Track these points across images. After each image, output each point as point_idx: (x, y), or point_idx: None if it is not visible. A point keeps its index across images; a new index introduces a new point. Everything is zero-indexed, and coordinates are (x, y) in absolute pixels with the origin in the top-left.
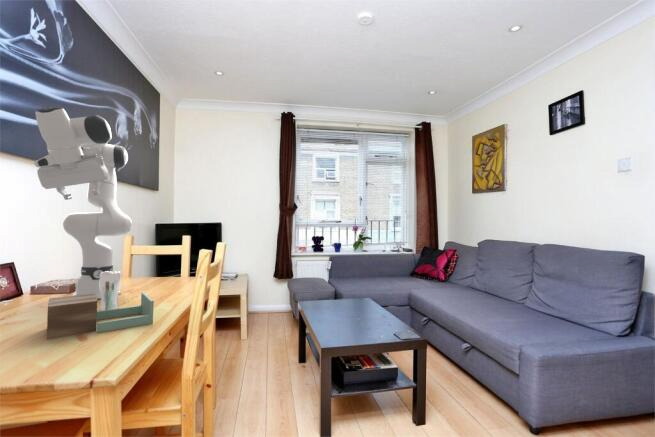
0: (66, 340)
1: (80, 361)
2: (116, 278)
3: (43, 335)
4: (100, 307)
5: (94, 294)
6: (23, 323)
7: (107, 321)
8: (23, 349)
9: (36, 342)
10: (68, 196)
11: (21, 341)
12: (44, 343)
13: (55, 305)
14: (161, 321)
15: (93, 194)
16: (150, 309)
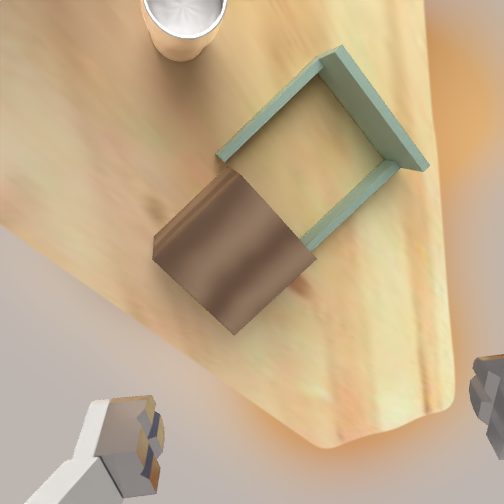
0: None
1: (370, 374)
2: (224, 14)
3: None
4: (161, 50)
5: (249, 185)
6: (42, 208)
7: (322, 235)
8: (225, 351)
9: None
10: (155, 458)
11: (178, 319)
12: None
13: (243, 321)
14: None
15: (474, 408)
16: (410, 169)
